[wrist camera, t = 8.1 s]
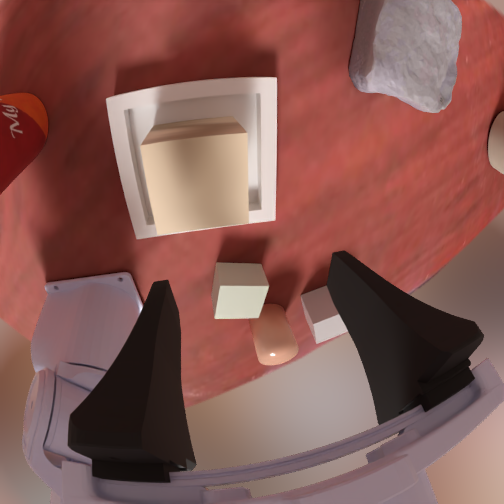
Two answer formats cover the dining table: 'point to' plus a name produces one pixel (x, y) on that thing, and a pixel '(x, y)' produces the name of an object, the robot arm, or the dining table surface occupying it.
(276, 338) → the terracotta cylinder
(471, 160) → the dining table surface
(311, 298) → the grey block
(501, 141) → the travel mug
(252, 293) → the sage block
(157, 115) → the white square tray
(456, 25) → the stone block
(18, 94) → the paper cup
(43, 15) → the dining table surface
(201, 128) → the beech cube
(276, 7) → the dining table surface
